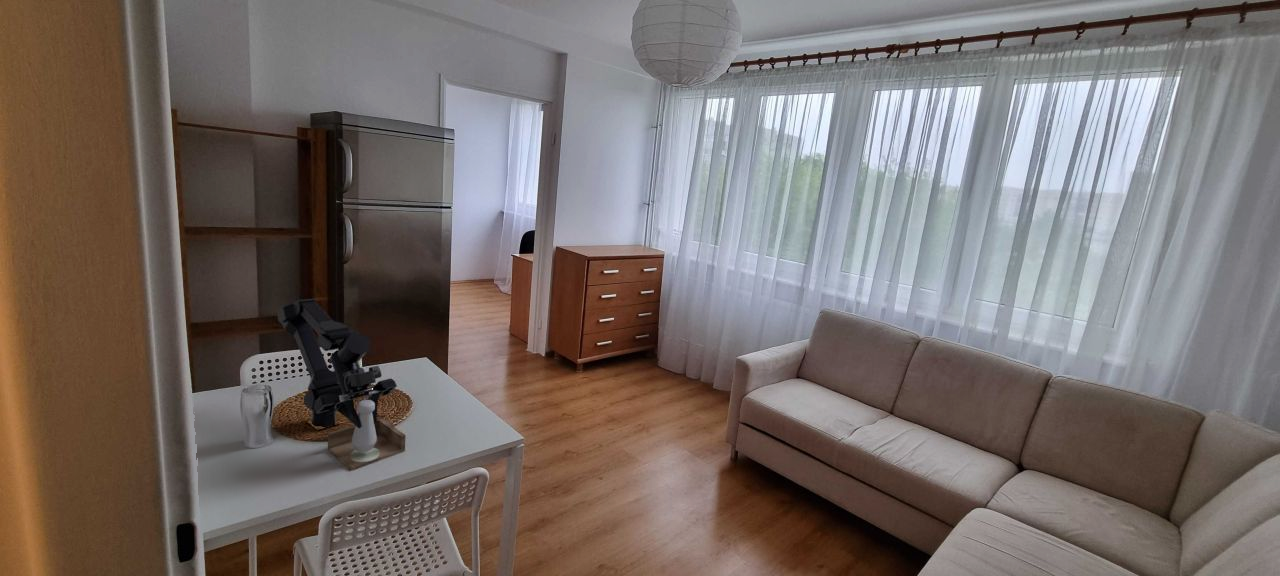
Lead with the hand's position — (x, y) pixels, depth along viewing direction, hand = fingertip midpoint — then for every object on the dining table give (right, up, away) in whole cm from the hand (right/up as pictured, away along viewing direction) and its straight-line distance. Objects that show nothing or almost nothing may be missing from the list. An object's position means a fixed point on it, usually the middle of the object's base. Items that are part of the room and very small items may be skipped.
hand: (367, 425), depth 134 cm
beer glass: (-30, -5, +3) cm, 31 cm away
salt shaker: (-2, -7, +2) cm, 7 cm away
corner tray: (-3, -8, +6) cm, 11 cm away
